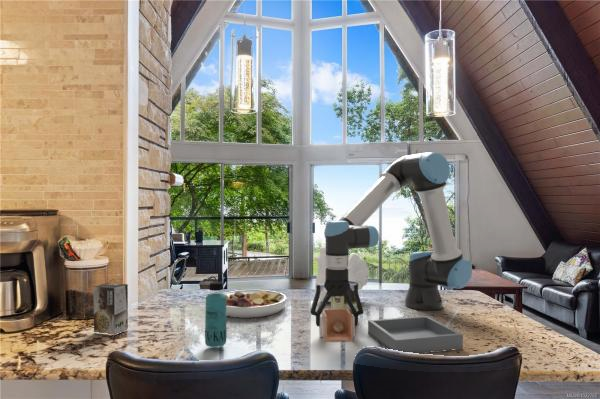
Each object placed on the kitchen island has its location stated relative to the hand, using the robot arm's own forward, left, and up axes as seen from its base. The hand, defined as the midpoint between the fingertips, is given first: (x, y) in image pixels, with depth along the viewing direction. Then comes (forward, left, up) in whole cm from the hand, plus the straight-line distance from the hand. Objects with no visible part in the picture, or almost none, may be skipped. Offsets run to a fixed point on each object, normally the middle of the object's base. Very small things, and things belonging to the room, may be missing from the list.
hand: (336, 335), depth 133 cm
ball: (-1, -2, +2) cm, 3 cm away
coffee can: (-8, -15, 0) cm, 17 cm away
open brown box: (0, 0, 0) cm, 0 cm away
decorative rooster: (-17, -42, 0) cm, 45 cm away
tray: (-22, +10, 0) cm, 24 cm away
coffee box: (+73, -21, 0) cm, 76 cm away
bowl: (+24, -40, -1) cm, 47 cm away
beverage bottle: (+39, +2, 0) cm, 39 cm away
